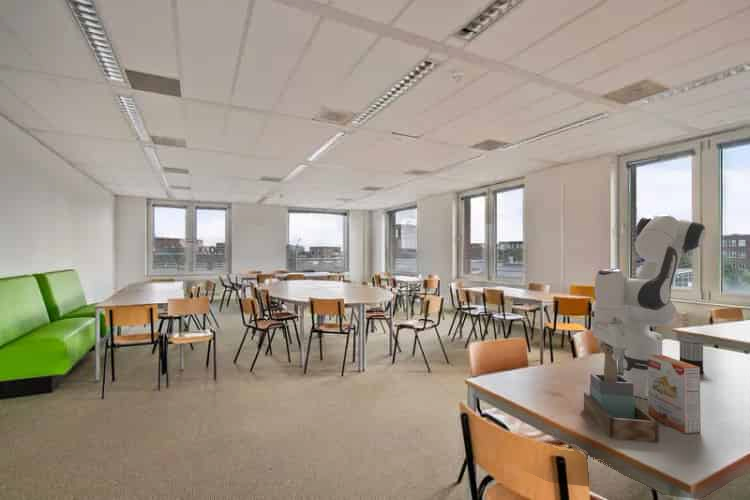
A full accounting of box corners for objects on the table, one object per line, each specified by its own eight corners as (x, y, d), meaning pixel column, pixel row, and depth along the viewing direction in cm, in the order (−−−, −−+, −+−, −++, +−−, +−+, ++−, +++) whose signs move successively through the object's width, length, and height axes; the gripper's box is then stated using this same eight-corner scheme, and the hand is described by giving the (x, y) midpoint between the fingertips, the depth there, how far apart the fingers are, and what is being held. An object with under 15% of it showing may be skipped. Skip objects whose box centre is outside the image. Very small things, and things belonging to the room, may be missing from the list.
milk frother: (709, 374, 172) (709, 342, 172) (674, 374, 173) (674, 342, 173) (685, 365, 186) (685, 335, 186) (653, 365, 187) (652, 335, 187)
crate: (620, 408, 130) (620, 374, 130) (634, 421, 121) (634, 384, 121) (589, 406, 132) (589, 372, 132) (601, 418, 122) (600, 382, 123)
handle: (618, 394, 123) (618, 348, 123) (597, 388, 128) (597, 345, 128) (624, 391, 126) (623, 346, 126) (603, 385, 131) (602, 343, 131)
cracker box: (646, 414, 129) (646, 354, 129) (663, 414, 129) (662, 354, 130) (683, 434, 115) (683, 366, 115) (701, 433, 115) (701, 366, 116)
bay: (624, 411, 131) (623, 394, 131) (658, 443, 110) (658, 422, 110) (584, 408, 134) (583, 392, 134) (610, 438, 112) (609, 418, 112)
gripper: (634, 321, 117) (635, 365, 117) (607, 311, 137) (607, 349, 137) (612, 321, 118) (612, 364, 118) (588, 311, 138) (589, 348, 138)
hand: (609, 356), depth 127 cm, fingers open, 8 cm apart
